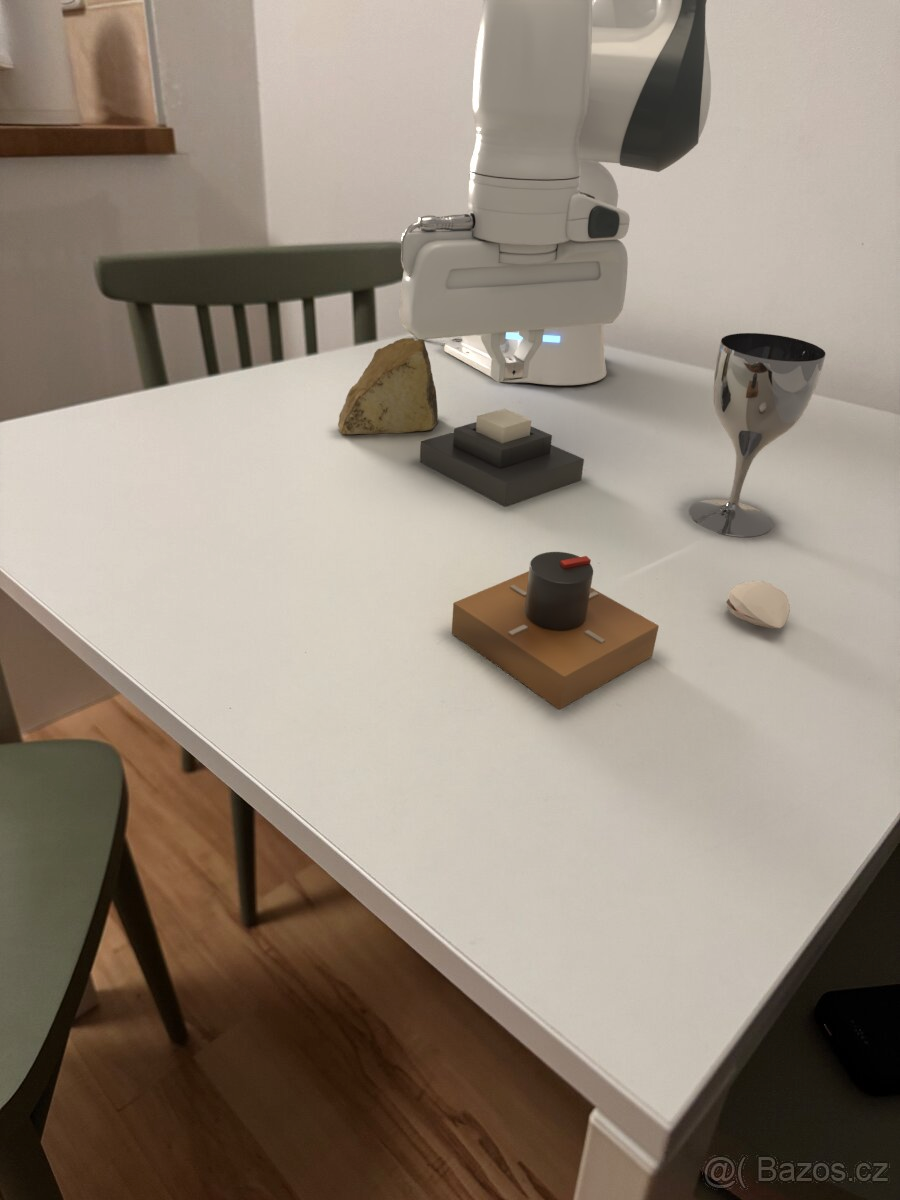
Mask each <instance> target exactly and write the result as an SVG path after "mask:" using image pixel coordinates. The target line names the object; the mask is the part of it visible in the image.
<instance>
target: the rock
mask: <svg viewBox="0 0 900 1200" xmlns="http://www.w3.org/2000/svg"><path fill="white" fill-rule="evenodd" d="M438 413H439V411H438V399H437V390H436V386H435V382H434V377H433V372H432V364H431V360H430V357H429V352H428V350H427V347H426V343H425V339H423V340H421V339H415V338H413V337H411V338H410V337H404V338H399V339H397V340H395V341H394V342H392V343H389V344H387V345H386V346H383V347H381V348H378V349H376V351H375V352H374V354H373V357H372V359H371V360H370V362H369V363H368V365H367V367H366V368H365V369H364V371H363V372H362V375H361V376H360V377H359V378H358V381H357V382H356V383H355V384H354V385H352V387H351V388H349V391H348V393H347V395H346V397H345V402H344V404H343V406H342V409H341V411H340V413H339V415H338V422H337V427H338V429H339V432H340V434H341V435H377V434H406V433H413V432H425V431H431V430H433V429H434V428H435V427H436V426H437V425H438V419H439V418H438V417H439V414H438Z"/></svg>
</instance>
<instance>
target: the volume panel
mask: <svg viewBox="0 0 900 1200" xmlns="http://www.w3.org/2000/svg"><path fill="white" fill-rule="evenodd" d="M528 576H529V570H528V571H526V572H524V573H521V574H518V575H517V576H514V577H511V578H509V579H507V580H504V581H502V582H500V583H497V584H495V585H492V586H489V587H487V588H485V589H482V590H480V591H478V592H475V593H473V594H471V595H469V596H467V597H464V598H461V599H458V600H456V601H454V602H453V603H452V604H453V605H452V619H451V620H452V621H451V634H452V635H453V636H454V637H456V638H457V639H459V640H460V641H461V642H463V643H464V644H465V645H467V646H468V647H470V648H471V649H473V650H474V651H476V652H477V653H479V655H481V656H483V657H484V658H486V659H487V660H488V661H490V662H491V663H493V664H494V665H496V666H497V667H498V668H500V669H501V670H503V671H504V672H505V673H507V674H508V675H510V676H511V677H513V678H514V679H516V680H517V681H518V682H520V683H521V684H522V685H524V686H525V687H527V688H528V689H530V690H531V691H532V692H534V693H535V694H537V695H539V697H541V698H542V699H544V700H545V701H547V702H548V703H549V704H550V705H552V706H554V707H555V708H556V709H558V710H561V709H563V708H564V707H566V706H568V705H569V704H572V703H573V702H575V701H576V700H578V699H580V698H582V697H584V696H585V695H587V694H589V693H591V692H592V691H595V690H596V689H598V688H599V687H601V686H603V685H605V684H606V683H608V682H610V681H612V680H613V679H615V678H618V677H619V676H621V675H622V674H624V673H626V672H628V671H629V670H631V669H632V668H635V667H636V666H639V665H640V664H642V663H643V662H645V661H647V660H648V659H651V658H652V657H653V654H654V649H655V645H656V640H657V636H658V631H659V625H658V624H657V623H655V622H653V621H652V620H650V619H648V618H646V617H644V616H642V615H641V614H639V613H637V612H635V611H634V610H632V609H630V608H628V607H627V606H625V605H623V604H621V603H619V602H618V601H616V600H614V599H613V598H610V597H609V596H608V595H605V594H603V593H601V592H600V591H598V590H596V589H595V588H592V587H591V589H590V595H589V602H588V608H587V614H586V619H585V621H584V622H583V623H582V624H581V625H580V626H578V627H576V628H573V629H568V630H553V629H547V628H544V627H541V626H539V625H536V624H535V623H533V622H532V621H530V620H529V619H528V617H527V616H526V614H525V602H526V593H527V585H528Z"/></svg>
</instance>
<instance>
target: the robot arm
mask: <svg viewBox="0 0 900 1200" xmlns="http://www.w3.org/2000/svg"><path fill="white" fill-rule="evenodd" d="M707 1H708V0H483V2H482V6H481V13H480V19H479V25H478V33H477V38H476V42H475V43H476V44H475V47H474V56H473V57H474V58H473V67H474V68H473V82H472V97H471V98H472V100H471V109H472V114H473V120H474V125H475V126H474V127H475V142H474V148H473V150H472V151H473V152H472V155H471V157H470V161H469V168H468V169H469V174H468V189H467V212H466V213H463V214H450V215H444V216H436V215H424V216H420V217H418V219H417V221H416V222H415V221H414V222H413V223H411V224H410V225H408V227H407V228H406V229H405V231H404V232H403V233H402V235H401V240H400V262H401V267H402V270H403V273H402V279H401V287H400V296H399V308H398V309H399V311H398V312H399V313H398V316H399V321H400V323H401V325H402V326H403V328H405V330H406V331H407V332H408V333H409V334H411V335H412V336H414V337H415V338H416V339H417V340H434V339H446V338H453V339H450V340H448V341H447V342H445V344H444V348H443V349H444V350H443V351H444V352H445V353H447V354H449V355H450V356H452V357H454V358H456V359H458V360H460V361H461V362H463V363H464V364H466V365H469V366H470V367H472V368H473V369H476V370H477V371H479V372H480V373H483V374H484V375H486V376H488V377H490V378H491V380H492V379H493V381H494V382H496V383H529V384H537V385H544V386H545V385H547V386H580V385H586V384H587V385H588V384H592V383H596V382H598V381H601V380H602V379H604V378H605V377H606V376H607V373H608V371H607V366H606V357H605V325H609V324H613V323H615V321H616V320H617V318H618V317H619V316H620V314H621V313H622V311H623V309H624V304H625V300H626V299H625V298H626V289H627V279H628V265H629V264H628V263H629V261H628V259H629V258H628V251H627V248H626V246H625V245H624V243H623V242H622V241H621V240H622V239H623V238H625V237H626V236H627V234H628V231H629V228H630V215H629V213H628V212H627V211H626V210H623V209H621V208H619V207H618V200H619V190H618V186H617V183H616V180H615V178H614V176H613V174H612V173H611V172H610V171H609V170H608V168H607V167H606V166H604V164H602V163H607V164H608V163H609V164H619V165H620V166H622V167H628V168H634V169H639V170H645V171H651V172H655V173H660V172H662V171H663V170H665V169H667V168H668V167H670V166H672V165H674V164H675V163H677V162H678V161H680V160H681V159H682V158H684V157H685V156H686V155H687V154H688V153H690V152H691V151H692V150H693V149H694V148H695V147H696V146H697V145H698V144H699V141H700V140H699V139H700V137H701V136H702V133H703V132H704V129H705V127H706V124H707V120H708V117H709V112H710V111H709V110H710V106H711V97H712V73H711V62H710V56H709V48H708V40H707V32H706V11H707V10H706V7H707V6H706V5H707ZM416 229H418V230H416Z"/></svg>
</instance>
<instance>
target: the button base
mask: <svg viewBox="0 0 900 1200" xmlns="http://www.w3.org/2000/svg"><path fill="white" fill-rule="evenodd" d="M476 422H477V421H476ZM476 422H472V423H468V424H464V425H461V426H457V427H454V428H453V432H449V433H445V434H442V435H438V436H435V437H431V438H427V439H424V440H420V443H419V444H420V447H419V450H420V451H419V463H420V464H423V465H425V466H427V467H428V468H430V469H432V470H434V471H436V472H438V473H440V474H442V475H444V476H446V477H448V478H449V479H451V480H453V481H455V482H457V483H459V484H460V485H462V486H465V487H467V488H468V489H470V490H472V491H474V492H476V493H478V494H479V495H482V496H483V497H485V498H488V499H489V500H491V501H493V502H495V503H497V504H499V505H500V506H503V507H509V506H512V505H515V504H517V503H521V502H524V501H526V500H529V499H532V498H535V497H538V496H540V495H543V494H546V493H549V492H552V491H554V490H558V489H561V488H563V487H567V486H569V485H571V484H574V483H577V482H580V481H582V477H583V469H584V463H585V459H584V458H583V457H582V456H581V457H580V456H578V455H576V454H574V453H571V452H570V451H566V450H564V449H562V448H560V447H557V446H555V445H553V444H552V441H553V434H550V433H549V432H546V431H543V430H541V429H538V428H536V427H534V426H531V429H530V435H529V436H526V437H523V438H519V439H516V440H512V441H509V442H505V443H503V444H502V443H500V442H498V441H496V440H494V439H491V438H489V437H487V436H485V435H483V434H480V433H478V432H476Z"/></svg>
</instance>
